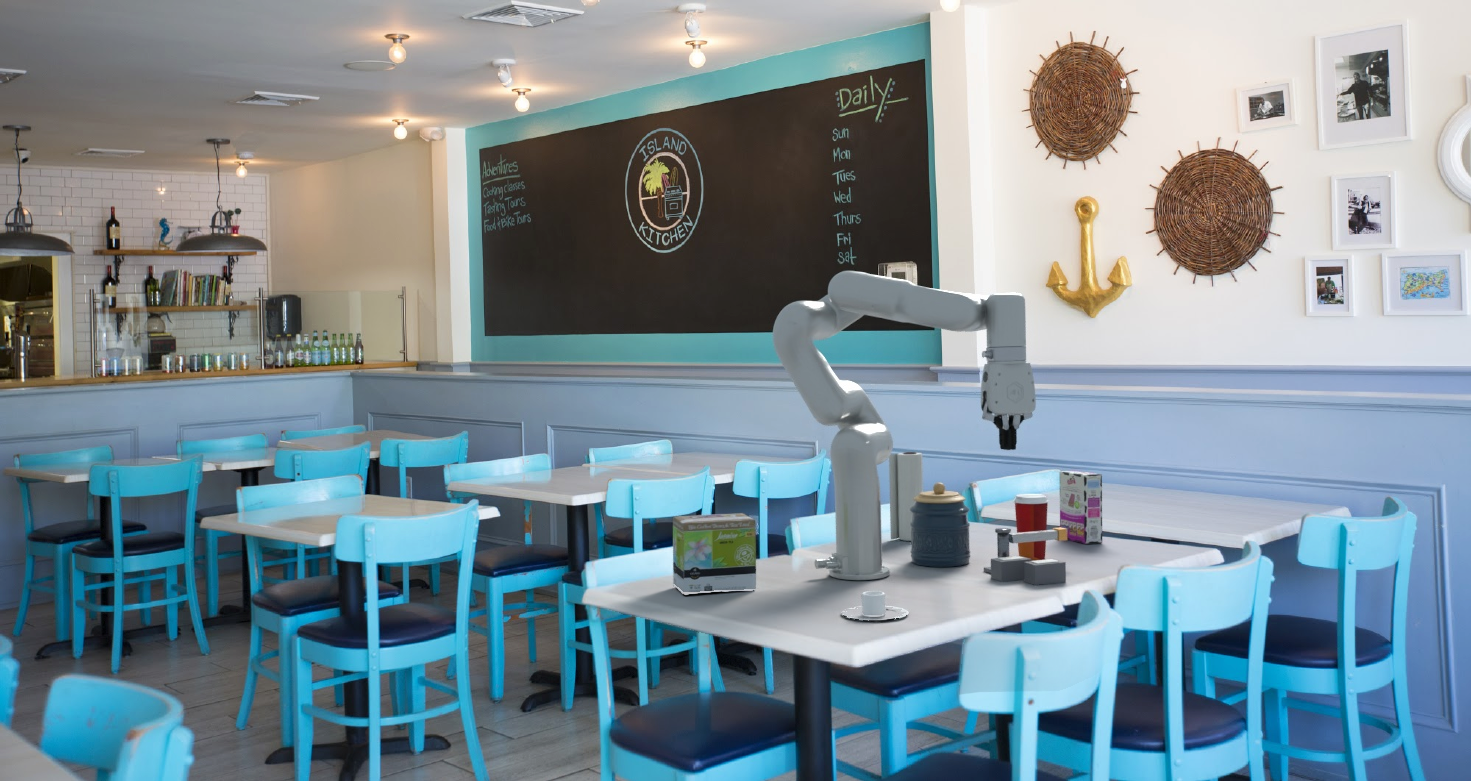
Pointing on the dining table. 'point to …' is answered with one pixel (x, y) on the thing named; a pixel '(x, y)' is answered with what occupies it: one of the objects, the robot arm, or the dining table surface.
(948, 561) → the canister
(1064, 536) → the swing arm
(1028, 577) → the block
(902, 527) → the paper towel roll
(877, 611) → the candle holder
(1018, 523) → the paper cup
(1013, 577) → the block
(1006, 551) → the pivot post
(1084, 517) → the candy bar box
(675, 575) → the tea box
